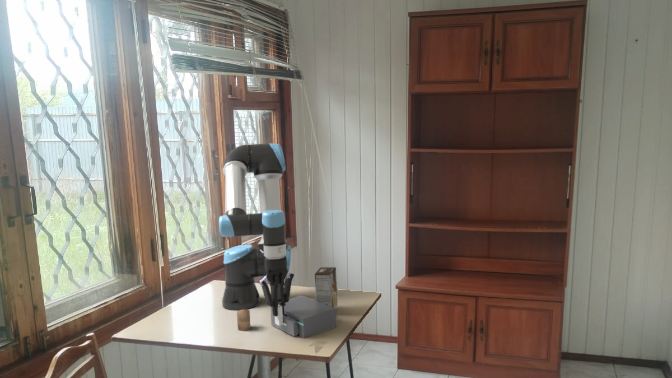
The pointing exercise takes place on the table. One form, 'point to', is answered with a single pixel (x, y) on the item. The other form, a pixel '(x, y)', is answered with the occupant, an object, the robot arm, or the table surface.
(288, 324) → the grey drawer
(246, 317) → the brown rounded peg
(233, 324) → the table surface
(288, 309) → the housing
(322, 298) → the coffee box
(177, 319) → the table surface
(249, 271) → the robot arm
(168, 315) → the table surface
